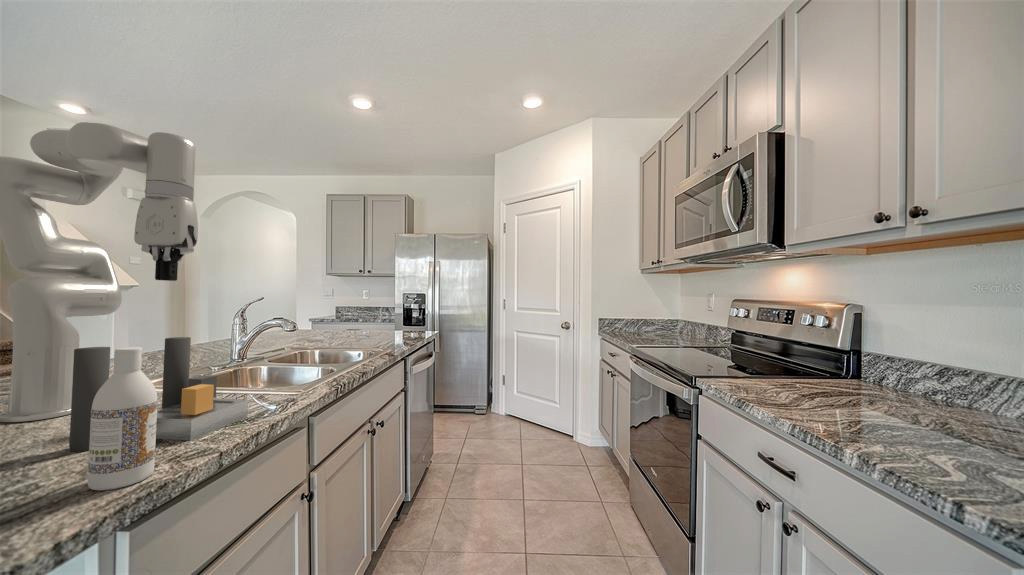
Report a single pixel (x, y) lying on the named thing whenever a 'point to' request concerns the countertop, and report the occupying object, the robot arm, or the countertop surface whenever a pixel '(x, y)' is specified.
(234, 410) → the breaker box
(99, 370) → the post
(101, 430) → the bath foam
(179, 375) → the post
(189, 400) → the tab orange
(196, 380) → the grey small block
